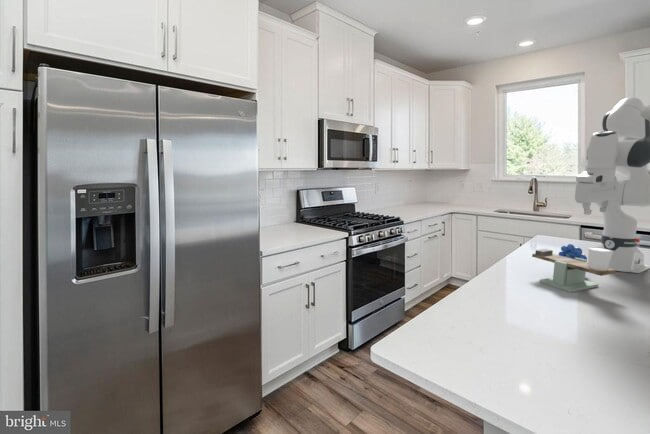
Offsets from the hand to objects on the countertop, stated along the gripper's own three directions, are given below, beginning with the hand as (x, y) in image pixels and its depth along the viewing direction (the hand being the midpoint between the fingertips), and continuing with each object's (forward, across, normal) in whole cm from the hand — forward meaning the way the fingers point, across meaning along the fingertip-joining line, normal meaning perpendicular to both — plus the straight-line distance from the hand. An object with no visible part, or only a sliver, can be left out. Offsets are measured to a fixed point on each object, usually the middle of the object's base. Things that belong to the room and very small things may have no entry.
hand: (595, 213), depth 134 cm
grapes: (+28, -8, -12) cm, 32 cm away
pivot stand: (+27, +8, -2) cm, 29 cm away
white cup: (+18, +8, +8) cm, 21 cm away
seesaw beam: (+19, +8, -2) cm, 21 cm away
